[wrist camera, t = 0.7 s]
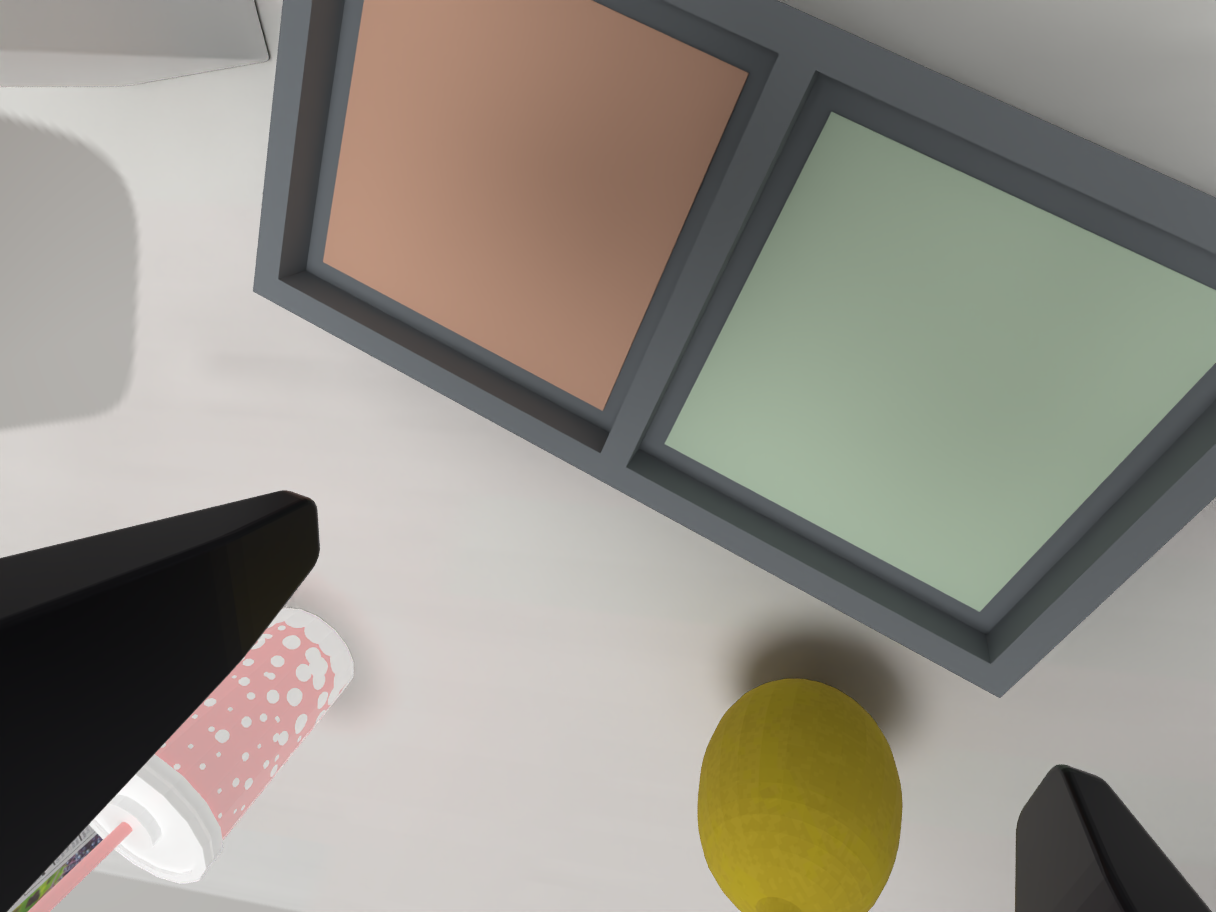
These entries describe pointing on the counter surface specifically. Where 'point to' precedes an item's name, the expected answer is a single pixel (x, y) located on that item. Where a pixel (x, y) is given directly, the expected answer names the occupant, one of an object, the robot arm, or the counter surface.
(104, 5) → the milk
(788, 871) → the lemon
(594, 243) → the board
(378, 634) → the counter surface
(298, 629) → the beverage cup
